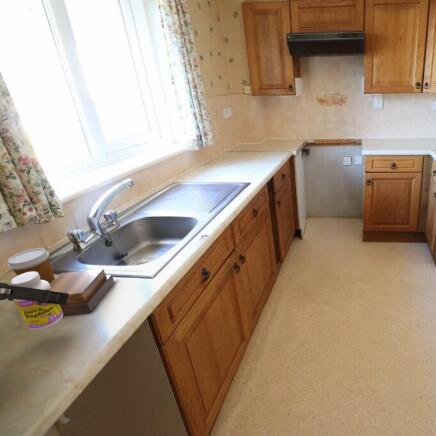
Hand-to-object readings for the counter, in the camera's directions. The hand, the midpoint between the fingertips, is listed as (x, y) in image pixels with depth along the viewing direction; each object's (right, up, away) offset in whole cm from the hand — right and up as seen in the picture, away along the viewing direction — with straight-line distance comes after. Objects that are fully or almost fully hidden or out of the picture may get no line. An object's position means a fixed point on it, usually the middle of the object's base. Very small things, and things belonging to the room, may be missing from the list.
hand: (52, 298), depth 78 cm
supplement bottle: (0, -6, -1) cm, 6 cm away
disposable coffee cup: (-22, -3, +23) cm, 32 cm away
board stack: (-7, -5, +17) cm, 19 cm away
